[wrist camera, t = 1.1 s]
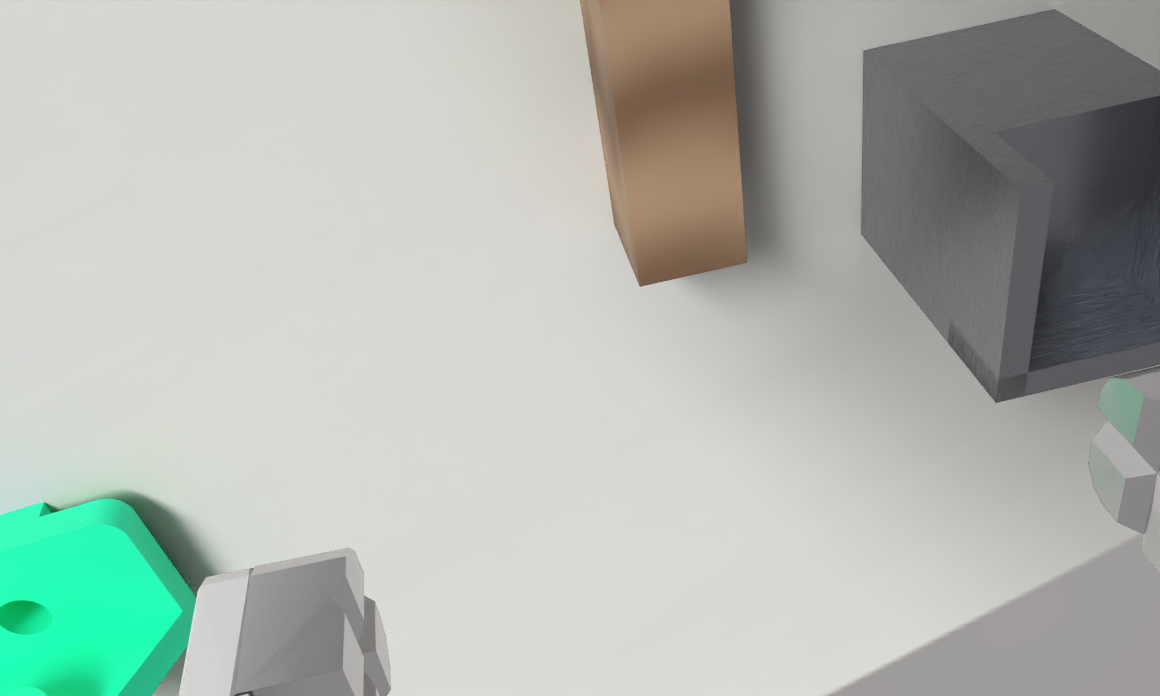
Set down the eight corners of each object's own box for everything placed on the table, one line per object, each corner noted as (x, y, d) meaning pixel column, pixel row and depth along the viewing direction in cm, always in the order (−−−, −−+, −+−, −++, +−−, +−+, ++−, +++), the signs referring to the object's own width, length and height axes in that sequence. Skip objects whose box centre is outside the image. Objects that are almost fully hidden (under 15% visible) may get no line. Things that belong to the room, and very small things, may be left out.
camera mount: (126, 475, 45) (73, 673, 36) (204, 588, 49) (174, 786, 41) (-144, 554, 45) (-257, 770, 36) (-40, 660, 49) (-120, 873, 41)
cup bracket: (863, 50, 39) (1020, 189, 30) (1054, 9, 39) (1268, 134, 30) (861, 234, 44) (996, 402, 35) (1032, 195, 44) (1210, 352, 35)
